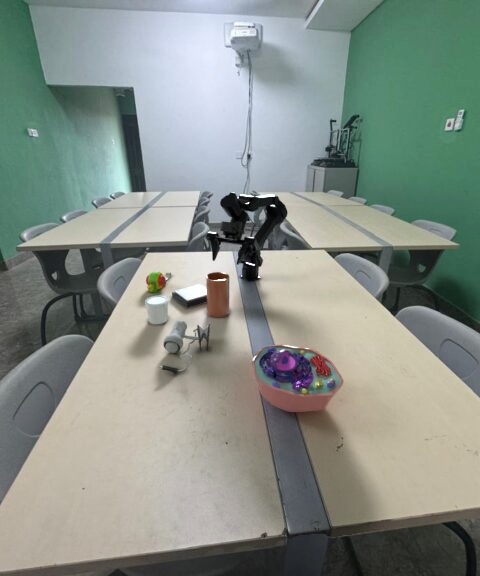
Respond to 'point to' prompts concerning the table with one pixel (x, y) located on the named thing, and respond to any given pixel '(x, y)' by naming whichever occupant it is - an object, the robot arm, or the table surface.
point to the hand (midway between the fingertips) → (225, 262)
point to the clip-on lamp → (175, 341)
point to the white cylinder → (157, 309)
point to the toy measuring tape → (156, 280)
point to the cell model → (295, 378)
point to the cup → (217, 294)
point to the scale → (191, 295)
